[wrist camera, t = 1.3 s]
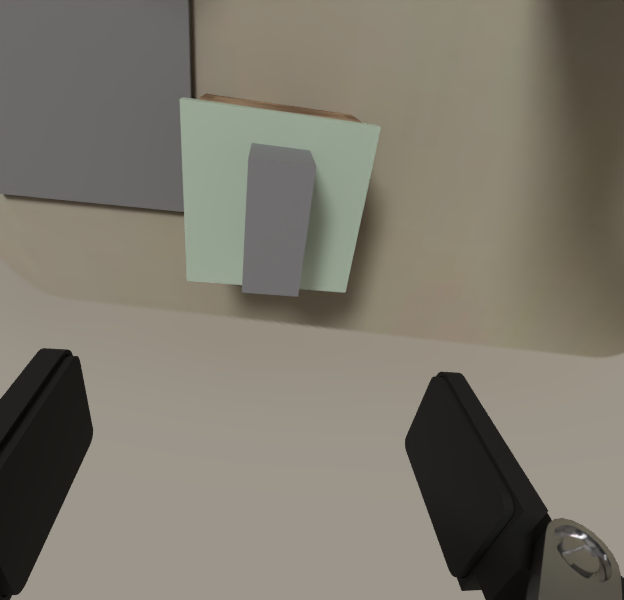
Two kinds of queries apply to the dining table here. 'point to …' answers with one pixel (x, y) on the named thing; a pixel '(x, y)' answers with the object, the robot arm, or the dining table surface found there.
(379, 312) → the dining table surface
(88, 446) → the robot arm
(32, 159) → the mat
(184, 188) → the lid
